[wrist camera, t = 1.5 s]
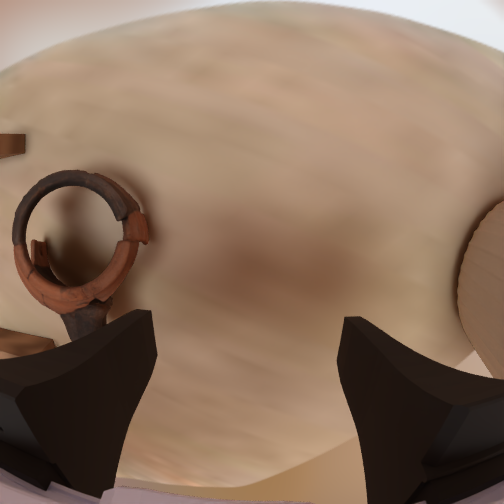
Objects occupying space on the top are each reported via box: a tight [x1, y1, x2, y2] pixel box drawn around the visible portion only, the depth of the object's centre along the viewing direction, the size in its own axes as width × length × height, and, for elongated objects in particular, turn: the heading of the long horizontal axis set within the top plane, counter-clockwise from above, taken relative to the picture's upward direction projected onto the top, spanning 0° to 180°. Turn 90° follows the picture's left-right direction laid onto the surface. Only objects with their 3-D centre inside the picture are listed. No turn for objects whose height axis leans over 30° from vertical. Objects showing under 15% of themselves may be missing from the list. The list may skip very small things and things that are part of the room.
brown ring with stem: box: [12, 170, 149, 341], centre depth 18 cm, size 12×10×8 cm
